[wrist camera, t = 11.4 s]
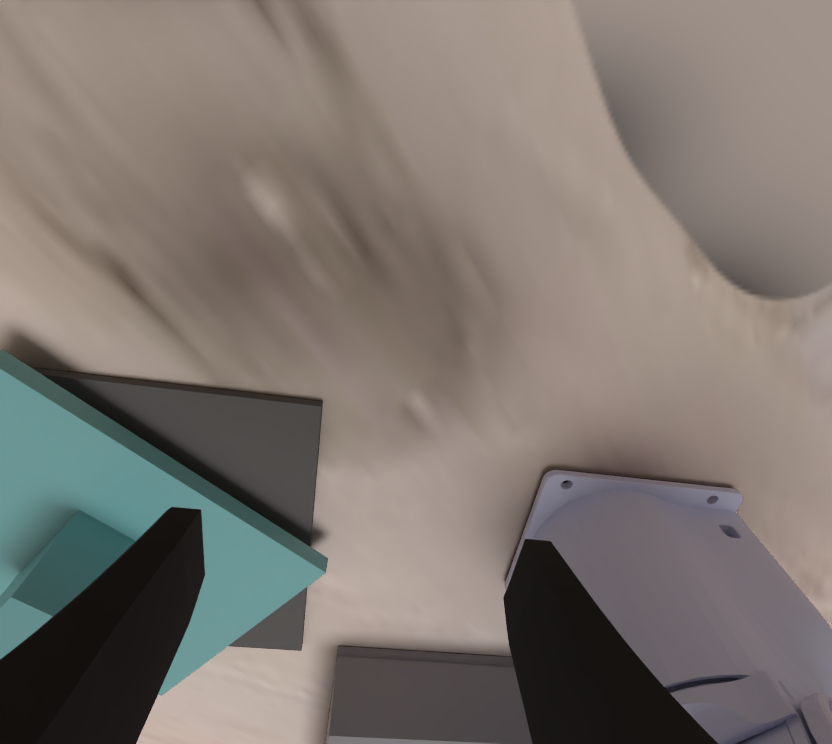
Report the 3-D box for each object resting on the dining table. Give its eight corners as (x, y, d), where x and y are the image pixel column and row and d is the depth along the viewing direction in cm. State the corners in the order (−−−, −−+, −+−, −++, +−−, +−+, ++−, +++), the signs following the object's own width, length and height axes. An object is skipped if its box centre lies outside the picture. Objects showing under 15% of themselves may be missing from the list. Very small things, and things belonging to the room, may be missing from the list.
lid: (329, 544, 23) (312, 661, 19) (173, 665, 27) (124, 788, 22) (18, 340, 18) (-125, 428, 13) (-121, 527, 22) (-270, 650, 17)
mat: (322, 401, 20) (321, 406, 20) (302, 643, 28) (301, 650, 27) (-169, 344, 18) (-181, 349, 18) (-49, 621, 26) (-55, 628, 25)
